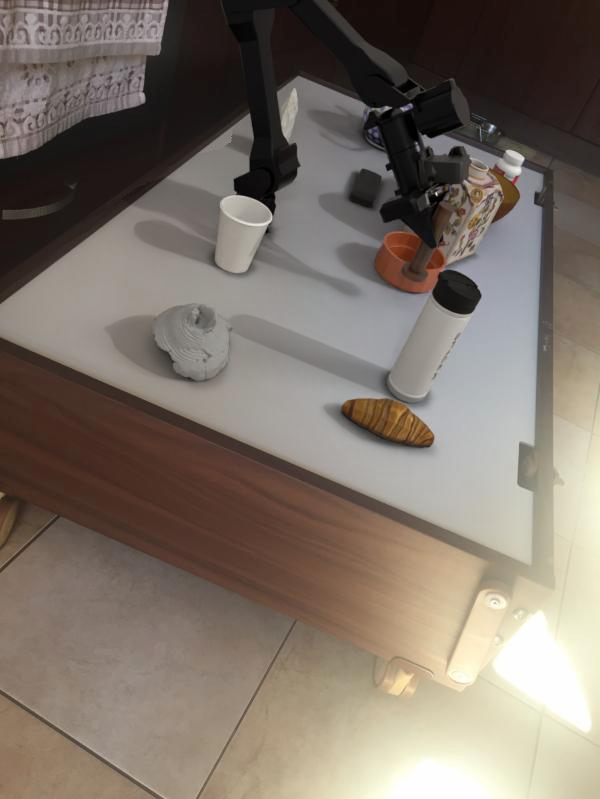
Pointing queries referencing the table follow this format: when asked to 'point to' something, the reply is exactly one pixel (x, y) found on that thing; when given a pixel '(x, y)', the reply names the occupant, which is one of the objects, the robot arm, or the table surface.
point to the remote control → (366, 187)
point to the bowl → (505, 196)
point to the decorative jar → (469, 211)
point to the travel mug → (433, 336)
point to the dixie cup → (240, 232)
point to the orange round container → (400, 251)
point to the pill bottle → (510, 165)
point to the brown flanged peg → (423, 253)
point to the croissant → (389, 420)
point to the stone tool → (289, 113)
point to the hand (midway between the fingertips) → (437, 245)
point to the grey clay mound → (193, 339)
